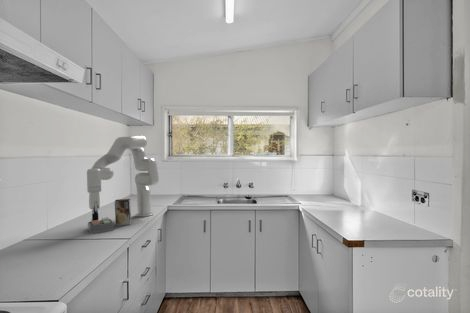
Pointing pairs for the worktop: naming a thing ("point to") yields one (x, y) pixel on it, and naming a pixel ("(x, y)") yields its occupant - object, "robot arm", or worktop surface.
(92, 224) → the key terracotta
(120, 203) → the coffee box
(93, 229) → the keyguard
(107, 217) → the key ivory
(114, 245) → the worktop surface
